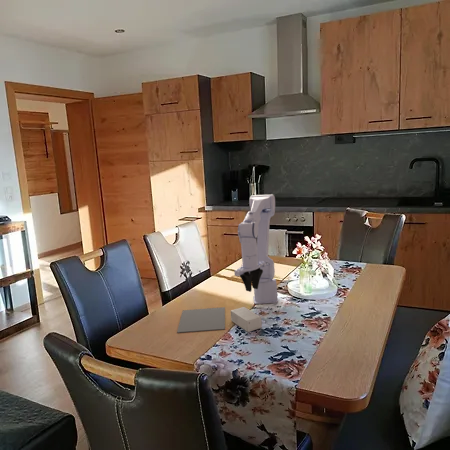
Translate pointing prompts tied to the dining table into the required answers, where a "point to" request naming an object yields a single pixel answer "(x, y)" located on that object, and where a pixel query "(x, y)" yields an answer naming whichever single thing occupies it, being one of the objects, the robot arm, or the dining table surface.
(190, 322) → the mat
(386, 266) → the dining table surface
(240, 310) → the skincare box
